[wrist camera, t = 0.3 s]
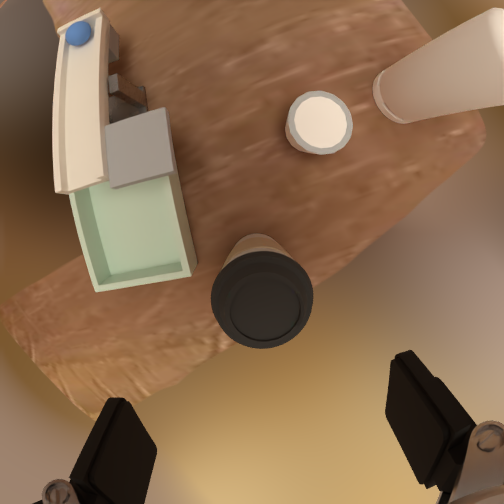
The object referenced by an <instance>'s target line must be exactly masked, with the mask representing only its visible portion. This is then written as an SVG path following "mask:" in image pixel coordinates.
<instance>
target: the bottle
mask: <svg viewBox="0 0 504 504" xmlns="http://www.w3.org/2000/svg"><path fill="white" fill-rule="evenodd" d="M372 90H373V97H374V100H375V102H376V105H377V107H378V108H379V109H380V111H381V112H382V113H383V114H384V115H385V116H386V117H387V118H389V119H390V120H392V121H394V122H396V123H402V124H407V123H411V122H415V121H420V120H424V119H429V118H433V117H438V116H443V115H448V114H453V113H458V112H463V111H469V110H474V109H480V108H486V107H493V106H499V105H504V9H501V8H492V9H490V10H488V11H486V12H484V13H482V14H480V15H478V16H476V17H474V18H472V19H470V20H468V21H466V22H465V23H463V24H461V25H459V26H457V27H455V28H454V29H452V30H450V31H448V32H446V33H445V34H443V35H441V36H439V37H437V38H436V39H434V40H432V41H431V42H429V43H427V44H426V45H424V46H422V47H421V48H419V49H417V50H416V51H414V52H412V53H411V54H409V55H407V56H406V57H404V58H403V59H401V60H399V61H398V62H396V63H395V64H393V65H392V66H390V67H388V68H387V69H385V70H384V71H382V72H381V73H379V74H378V75H377V76H376V78H375V80H374V82H373V88H372ZM384 102H385V103H384ZM385 104H386V105H387V106H386V105H385ZM388 108H389V109H390V110H389V109H388ZM392 112H393V113H394V114H393V113H392Z"/></svg>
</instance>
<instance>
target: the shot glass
mask: <svg viewBox="0 0 504 504" xmlns="http://www.w3.org/2000/svg"><path fill="white" fill-rule="evenodd" d="M352 128H353V123H352V118H351V113H350V111H349V110H348V108H347V107H346V105H345V104H344V102H343V101H341V100H340V99H339V98H337V97H336V96H335V95H333V94H330V93H327V92H324V91H311V92H307V93H305V94H303V95H301V96H300V97H298V98H297V99H296V100H295V102H294V103H293V104H292V106H291V107H290V110H289V114H288V117H287V121H286V126H285V133H286V138H287V139H288V141H289V142H290V144H291V145H292V146H293V147H294V148H296V149H297V150H299V151H303V152H307V153H313V154H320V155H323V154H330V153H335V152H336V151H338V150H340V149H341V148H343V147H344V146H345V145H346V143H347V142H348V140H349V139H350V137H351V133H352Z"/></svg>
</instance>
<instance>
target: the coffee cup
mask: <svg viewBox="0 0 504 504" xmlns="http://www.w3.org/2000/svg"><path fill="white" fill-rule="evenodd" d="M312 304H313V288H312V284H311V281H310V279H309V277H308V275H307V273H306V272H305V270H304V269H303V268H302V267H301V266H300V265H299V264H298V263H297V262H296V261H295V260H294V259H293V258H292V257H291V256H290V255H289V254H288V252H287V251H286V250H285V249H284V248H283V247H282V246H281V245H280V244H278V243H277V242H276V241H275V240H274V239H273V238H271V237H270V236H267V235H265V234H259V233H255V234H250V235H247V236H245V237H243V238H241V239H240V240H239V241H238V242H237V243H236V244H235V246H234V248H233V249H232V251H231V252H230V254H229V255H228V257H227V259H226V261H225V263H224V265H223V267H222V269H221V270H220V273H219V274H218V276H217V277H216V279H215V282H214V284H213V287H212V292H211V306H212V310H213V313H214V316H215V318H216V320H217V321H218V323H219V325H220V326H221V328H222V329H223V331H224V332H225V333H226V334H227V335H228V336H229V337H230V338H231V339H233V340H234V341H236V342H238V343H240V344H242V345H245V346H247V347H252V348H259V349H263V348H272V347H276V346H279V345H282V344H284V343H286V342H288V341H290V340H291V339H293V338H294V337H295V336H296V335H297V334H298V333H299V332H300V331H301V330H302V329H303V328H304V326H305V325H306V323H307V321H308V319H309V316H310V313H311V309H312Z"/></svg>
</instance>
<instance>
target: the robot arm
mask: <svg viewBox="0 0 504 504" xmlns="http://www.w3.org/2000/svg"><path fill="white" fill-rule="evenodd" d="M385 414H386V418H387V420H388V422H389V424H390V426H391V428H392V430H393V432H394V434H395V436H396V438H397V440H398V442H399V444H400V446H401V448H402V450H403V452H404V454H405V456H406V458H407V460H408V462H409V464H410V466H411V468H412V470H413V472H414V474H415V476H416V478H417V480H418V482H419V484H424V485H425V487H426V489H428V488H430V487H433V486H435V485H437V487H438V489H439V491H441V492H440V495H439V497H438V500H437V502H436V504H504V425H503V424H502V423H500V422H497V421H485V422H483V423H480V424H479V425H476V424H475V422H474V421H473V420H472V418H471V417H470V416H469V414H468V413H467V412H466V411H465V409H464V408H463V407H462V405H461V404H460V403H459V402H458V400H457V399H456V398H455V397H454V395H453V394H452V393H451V392H450V390H449V389H448V388H447V387H446V385H445V384H444V383H443V382H442V381H441V380H440V379H439V378H437V377H434V376H433V375H432V374H431V372H430V371H429V370H428V369H427V368H426V366H425V365H424V364H423V363H422V362H421V361H420V359H419V358H418V357H417V356H416V354H415V353H414V352H413V351H412V350H408V351H406V352H402V353H399V354H397V355H396V356H395V359H393V360H391V364H390V375H389V386H388V394H387V402H386V409H385ZM156 455H157V448H156V445H155V443H154V442H153V440H152V439H151V437H150V436H149V434H148V432H147V431H146V429H145V427H144V426H143V424H142V422H141V421H140V419H139V417H138V416H137V414H136V412H135V410H134V409H133V407H132V405H131V403H130V402H129V401H126V399H124V398H108V400H107V401H106V403H105V405H104V407H103V409H102V411H101V413H100V415H99V417H98V419H97V421H96V423H95V425H94V427H93V429H92V431H91V433H90V435H89V437H88V439H87V441H86V443H85V445H84V447H83V449H82V451H81V454H80V455H79V457H78V459H77V462H76V464H75V466H74V468H73V470H72V472H71V474H70V477H69V478H70V479H71V480H70V482H68V481H66V480H63V479H56V480H53V481H51V482H49V483H48V484H47V485H46V486H45V487H44V489H43V492H42V500H40V501H38V502H35V503H33V504H144V503H145V498H146V494H147V490H148V486H149V482H150V478H151V474H152V470H153V466H154V462H155V459H156Z"/></svg>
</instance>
